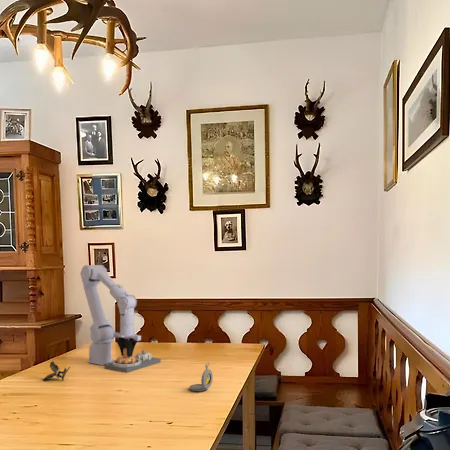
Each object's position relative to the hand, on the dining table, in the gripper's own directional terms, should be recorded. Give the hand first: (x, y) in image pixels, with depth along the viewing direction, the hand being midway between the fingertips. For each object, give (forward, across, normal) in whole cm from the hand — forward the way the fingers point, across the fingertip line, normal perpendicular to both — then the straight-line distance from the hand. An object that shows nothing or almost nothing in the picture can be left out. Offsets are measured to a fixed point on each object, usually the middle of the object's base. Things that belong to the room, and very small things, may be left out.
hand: (126, 355), depth 197 cm
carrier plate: (+5, 0, +4) cm, 6 cm away
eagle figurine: (+5, -10, -29) cm, 31 cm away
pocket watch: (+5, +46, -9) cm, 47 cm away
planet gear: (+2, 0, 0) cm, 2 cm away
